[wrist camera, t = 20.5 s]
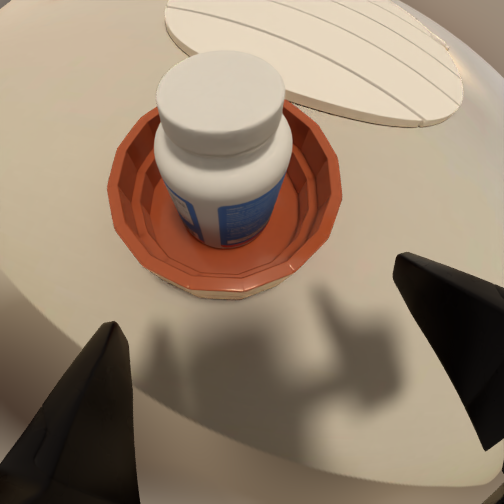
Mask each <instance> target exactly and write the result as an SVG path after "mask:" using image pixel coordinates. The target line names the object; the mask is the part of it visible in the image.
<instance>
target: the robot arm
mask: <svg viewBox="0 0 504 504" xmlns="http://www.w3.org/2000/svg"><path fill="white" fill-rule="evenodd" d="M393 280H394V283H395V284H396V286H397V288H398V290H399V292H400V293H401V295H402V297H403V299H404V301H405V303H406V305H407V307H408V309H409V310H410V312H411V314H412V316H413V318H414V319H415V321H416V322H417V324H418V326H419V327H420V329H421V330H422V332H423V333H424V335H425V337H426V338H427V340H428V342H429V343H430V345H431V347H432V348H433V350H434V352H435V353H436V355H437V357H438V358H439V360H440V362H441V364H442V365H443V367H444V369H445V371H446V373H447V374H448V376H449V378H450V380H451V382H452V384H453V385H454V387H455V389H456V391H457V393H458V395H459V397H460V399H461V401H462V403H463V405H464V407H465V409H466V411H467V413H468V415H469V417H470V420H471V422H472V424H473V426H474V428H475V430H476V433H477V435H478V437H479V440H480V442H481V444H482V447H483V449H484V450H485V451H487V450H488V449H490V448H491V447H493V446H494V445H495V444H497V443H498V442H500V441H501V440H502V439H504V288H503V287H500V286H498V285H495V284H493V283H490V282H488V281H485V280H483V279H480V278H478V277H475V276H473V275H470V274H467V273H465V272H462V271H459V270H457V269H454V268H451V267H449V266H446V265H443V264H441V263H438V262H435V261H432V260H429V259H427V258H424V257H421V256H418V255H415V254H412V253H410V252H404V253H401V254H398V255H397V257H396V260H395V265H394V270H393ZM502 472H503V473H504V462H503V467H502ZM0 504H140V498H139V491H138V482H137V472H136V462H135V447H134V429H133V389H132V378H131V367H130V355H129V344H128V341H127V339H126V337H125V335H124V334H123V332H122V330H121V328H120V327H119V325H118V323H117V322H115V321H112V322H106V323H103V324H102V325H101V326H100V328H99V329H98V330H97V331H96V333H95V334H94V335H93V336H92V338H91V339H90V340H89V342H88V343H87V344H86V345H85V347H84V348H83V349H82V351H81V352H80V353H79V355H78V356H77V357H76V359H75V360H74V361H73V363H72V364H71V365H70V367H69V368H68V369H67V371H66V372H65V373H64V375H63V376H62V378H61V379H60V380H59V382H58V383H57V385H56V386H55V387H54V389H53V390H52V392H51V393H50V394H49V396H48V397H47V399H46V400H45V402H44V403H43V405H42V407H41V408H40V409H39V411H38V412H37V414H36V415H35V417H34V418H33V419H32V421H31V423H30V424H29V425H28V427H27V428H26V430H25V431H24V432H23V434H22V435H21V437H20V438H19V439H18V440H17V442H16V443H15V445H14V446H13V447H12V449H11V450H10V451H9V452H8V454H7V455H6V457H5V458H4V459H3V461H2V462H1V463H0ZM482 504H504V483H503V484H502V485H501V486H500V487H499V488H498V489H497V490H496V491H495V492H494V493H493V494H492V495H491V496H489V497H488V499H486V500H485V501H484V502H483V503H482Z"/></svg>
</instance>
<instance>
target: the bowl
mask: <svg viewBox="0 0 504 504" xmlns="http://www.w3.org/2000/svg"><path fill="white" fill-rule="evenodd" d="M282 114H283V115H284V117H285V118H286V120H287V122H288V124H289V127H290V129H291V133H292V154H291V158H290V162H289V165H288V168H287V171H286V174H285V177H284V180H283V183H282V186H281V189H280V191H279V194H278V197H277V200H276V203H275V206H274V209H273V212H272V214H271V217H270V220H269V222H268V224H267V225H266V227H265V229H264V230H263V231H262V232H261V233H260V234H259V235H258V236H257V237H256V238H255V239H254V240H252V241H251V242H249V243H247V244H245V245H243V246H240V247H236V248H229V249H222V248H215V247H212V246H209V245H206V244H204V243H202V242H201V241H199V240H198V239H196V238H195V237H194V236H193V235H192V234H191V233H190V232H189V231H188V230H187V228H186V227H185V225H184V223H183V221H182V219H181V217H180V215H179V213H178V211H177V209H176V207H175V205H174V202H173V200H172V198H171V196H170V194H169V192H168V190H167V188H166V186H165V183H164V181H163V179H162V177H161V174H160V172H159V169H158V166H157V164H156V160H155V155H154V140H155V135H156V131H157V129H158V127H159V124H160V122H161V121H160V116H159V112H158V108H157V107H156V108H154V109H152V110H151V111H149V112H148V113H147V114H145V115H144V116H142V117H141V118H140V119H139V120H138V121H137V123H136V124H135V125H134V127H133V128H132V129H131V130H130V132H129V133H128V134H127V136H126V137H125V138H124V140H123V141H122V143H121V144H120V145H119V147H118V148H117V151H116V154H115V158H114V161H113V165H112V169H111V173H110V177H109V181H108V185H107V192H108V198H109V204H110V209H111V214H112V219H113V224H114V229H115V231H116V232H117V234H118V235H119V236H120V238H121V239H122V240H123V242H124V243H125V244H126V246H127V247H128V248H129V250H130V251H131V252H132V254H133V255H134V256H135V257H136V259H137V260H138V261H139V263H140V264H141V265H142V266H143V267H144V268H146V269H147V270H149V271H150V272H152V273H154V274H155V275H157V276H158V277H160V278H161V279H163V280H165V281H166V282H168V283H170V284H172V285H174V286H176V287H178V288H180V289H182V290H184V291H186V292H188V293H190V294H192V295H195V296H197V297H200V298H210V299H233V300H239V299H243V298H246V297H249V296H251V295H254V294H257V293H259V292H262V291H265V290H267V289H270V288H272V287H275V286H277V285H279V284H280V283H281V282H283V281H284V280H285V279H287V278H288V277H289V276H291V275H292V274H294V273H295V272H296V271H297V270H298V269H299V268H300V267H301V266H302V265H303V264H304V263H305V262H306V261H307V260H308V259H309V258H310V257H311V256H312V255H313V254H314V253H315V252H316V251H317V250H318V249H319V248H320V247H321V246H322V245H323V244H324V243H325V242H326V241H327V240H328V238H329V236H330V233H331V230H332V228H333V225H334V222H335V219H336V216H337V213H338V210H339V207H340V204H341V201H342V188H341V179H340V171H339V163H338V158H337V155H336V154H335V152H334V150H333V148H332V147H331V145H330V143H329V142H328V140H327V138H326V137H325V135H324V133H323V132H322V130H321V128H320V127H319V125H318V124H317V123H316V122H314V121H313V120H312V119H311V118H309V117H308V116H307V115H306V114H305V113H303V112H302V111H301V110H299V109H298V108H297V107H296V106H294V105H293V104H292V103H290V102H289V101H288V100H286V99H284V104H283V109H282Z"/></svg>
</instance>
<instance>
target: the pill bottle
mask: <svg viewBox="0 0 504 504" xmlns="http://www.w3.org/2000/svg"><path fill="white" fill-rule="evenodd" d="M284 99H285V85H284V82H283V79H282V77H281V75H280V74H279V72H278V71H277V70H276V69H275V68H274V67H273V66H272V65H271V64H269V63H268V62H266V61H265V60H263V59H261V58H259V57H257V56H254V55H251V54H248V53H244V52H239V51H230V50H218V51H209V52H204V53H200V54H196V55H193V56H191V57H188V58H186V59H184V60H182V61H180V62H179V63H177V64H176V65H174V66H173V67H172V68H170V69H169V70H168V71H167V72H166V74H165V75H164V76H163V77H162V79H161V80H160V82H159V84H158V87H157V91H156V104H157V108H158V112H159V116H160V121H161V122H160V124H159V127H158V129H157V131H156V135H155V140H154V155H155V160H156V164H157V166H158V169H159V172H160V174H161V177H162V179H163V181H164V183H165V186H166V188H167V190H168V192H169V194H170V196H171V198H172V200H173V202H174V205H175V207H176V209H177V211H178V213H179V215H180V217H181V219H182V221H183V223H184V225H185V227H186V228H187V230H188V231H189V232H190V233H191V234H192V235H193V236H194V237H195V238H196V239H198V240H199V241H201V242H202V243H204V244H206V245H209V246H212V247H215V248H222V249H229V248H236V247H240V246H243V245H245V244H247V243H249V242H251V241H252V240H254V239H255V238H256V237H257V236H258V235H259V234H260V233H261V232H262V231H263V230H264V229H265V227H266V225H267V224H268V222H269V220H270V217H271V214H272V212H273V209H274V206H275V203H276V200H277V197H278V194H279V191H280V189H281V186H282V183H283V180H284V177H285V174H286V171H287V168H288V165H289V162H290V158H291V154H292V133H291V129H290V127H289V124H288V122H287V120H286V118H285V117H284V115H283V114H282V109H283V104H284Z"/></svg>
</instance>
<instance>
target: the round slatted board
mask: <svg viewBox="0 0 504 504" xmlns="http://www.w3.org/2000/svg"><path fill="white" fill-rule="evenodd" d="M165 23H166V28H167V31H168V33H169V35H170V37H171V38H172V40H173V41H174V42H175V43H176V45H177V46H178V47H179V48H180V49H182V50H183V51H184V52H185V53H186V54H188V55H189V56H190V57H191V56H193V55H196V54H200V53H204V52H209V51H218V50H230V51H239V52H244V53H248V54H251V55H254V56H257V57H259V58H261V59H263V60H265V61H266V62H268V63H269V64H271V65H272V66H273V67H274V68H275V69H276V70H277V71H278V72H279V74H280V75H281V77H282V79H283V82H284V85H285V99H286V100H288V101H291V102H294V103H297V104H300V105H303V106H307V107H310V108H313V109H317V110H320V111H324V112H327V113H331V114H335V115H339V116H343V117H347V118H351V119H355V120H360V121H365V122H370V123H375V124H382V125H389V126H398V127H417V126H418V125H419V126H420V127H425V126H431V125H435V124H438V123H441V122H443V121H445V120H446V119H448V118H449V117H450V116H451V115H452V114H453V113H454V112H455V111H456V110H457V109H458V108H459V106H460V105H461V102H462V99H463V84H462V80H461V76H460V73H459V71H458V69H457V67H456V65H455V63H454V61H453V59H452V58H451V56H450V55H449V53H448V52H447V51H448V50H449V48H450V47H448V46H447V45H446V42H444V41H443V40H442V39H440V38H439V37H437V36H436V35H435V34H433V33H431V32H430V31H429V30H428V29H427V28H426V27H425V26H424V25H423V24H421V23H420V22H419V21H418V20H417V19H415V18H414V17H413V16H412V15H410V14H409V13H408V12H406V11H405V10H403V9H402V8H401V7H399V6H398V5H396V4H394V3H393V2H391V1H389V0H169V1H168V3H167V5H166V7H165Z"/></svg>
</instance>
